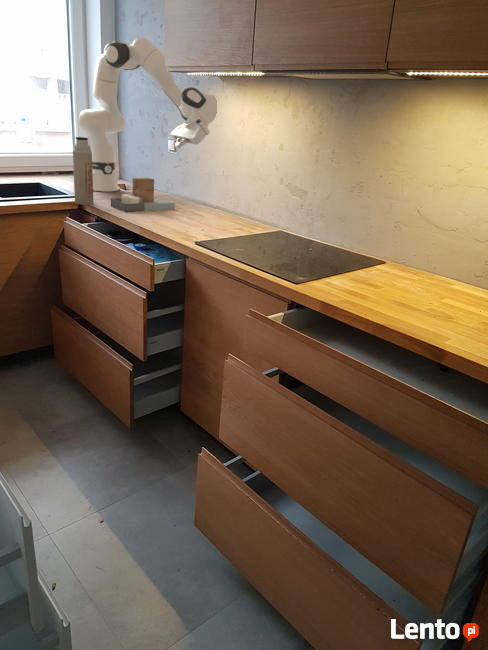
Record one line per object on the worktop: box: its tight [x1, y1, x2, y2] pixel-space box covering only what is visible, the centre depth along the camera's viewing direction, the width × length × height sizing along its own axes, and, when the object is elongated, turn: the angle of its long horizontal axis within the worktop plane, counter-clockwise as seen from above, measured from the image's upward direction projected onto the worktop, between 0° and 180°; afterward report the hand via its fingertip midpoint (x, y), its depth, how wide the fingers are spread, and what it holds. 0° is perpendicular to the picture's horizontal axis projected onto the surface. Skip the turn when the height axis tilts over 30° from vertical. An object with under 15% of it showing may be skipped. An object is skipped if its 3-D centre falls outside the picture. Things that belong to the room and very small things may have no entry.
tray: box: [110, 197, 145, 213], centre depth 219 cm, size 13×10×4 cm
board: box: [143, 197, 176, 212], centre depth 228 cm, size 12×16×3 cm
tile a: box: [121, 193, 130, 204], centre depth 221 cm, size 5×5×2 cm
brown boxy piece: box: [126, 177, 155, 203], centre depth 221 cm, size 12×9×10 cm
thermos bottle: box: [72, 136, 94, 206], centre depth 217 cm, size 8×8×28 cm
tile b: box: [128, 196, 139, 204], centre depth 218 cm, size 5×5×2 cm
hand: (176, 146), depth 225 cm, fingers closed
